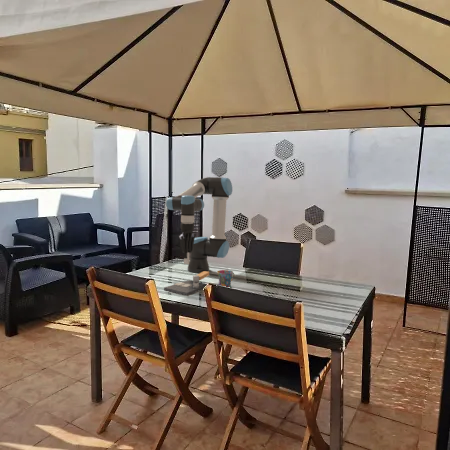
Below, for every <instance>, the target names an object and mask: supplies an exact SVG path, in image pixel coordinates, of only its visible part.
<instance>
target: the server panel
mask: <svg viewBox="0 0 450 450" xmlns="http://www.w3.org/2000/svg"><path fill="white" fill-rule="evenodd" d="M207 284H208V283H205V282H200V281H199V282H193V280H190V279H189V280H185V281H182V282H181V281H179V282H177V283H174V284H171V285H168V286H165V287H164V288H163V290H164V291H166V292H170V293H174V294H178V295H181V296H182V295H184V296H188V295H191V294H194V293H197V292H200V291H203V288H204V287H205V286H206V285H207Z"/></svg>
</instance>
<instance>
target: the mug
mask: <svg viewBox="0 0 450 450" xmlns="http://www.w3.org/2000/svg"><path fill="white" fill-rule="evenodd" d="M216 273H217V276H218V285H222V286H226V287H230V288H232V289H233V287H232V281H233V280H234V278H235V273H234V271H232V270H229V269H220V270H217V271H216Z"/></svg>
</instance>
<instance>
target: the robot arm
mask: <svg viewBox="0 0 450 450" xmlns="http://www.w3.org/2000/svg"><path fill="white" fill-rule="evenodd" d="M232 194H233V183H232V181H231V179H230V178H228V177H219V176H218V177H216V176H215V177H211V176H207V177H204V178H200V179H198V180H197V181H194V182H193V183H192V185H191V186H190V187H189V188H187V189H185V191H183V192H181V193H180V194H178V195H177V196H175V197H173V196H171V197H168V198H167V199H166V203H165V205H166V208H167V210H170V211H180V222H181V223H180V230H181V234H180V235H178V237H177V238H178V240H179V246H180V252H182V253H183V264H184V265H187V271H188V272H190V273H198V274H199V273H201V272H203V271H207V272H210V266H209V262H208V257H210V258H218V259H224V258H225V257H226V256H228V253H229V250H230V241H228V239H227V237H226V235H225V232H226V217H227V214H226V213H227V201H228V200H229V198H230V197H229V196H232ZM203 195H211V198H212V200H213V205H212V206H213V207H212V226H211V235H210V236H209V238H208V236H199V237H198V236H197V237H196V235H197V234H196V233H194V232H193V231H194V229H195V212H201V211H202V210H204V207H205V202H204V200H203V199H202V198H198V196H199V197H200V196H203Z"/></svg>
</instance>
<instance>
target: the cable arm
mask: <svg viewBox="0 0 450 450" xmlns="http://www.w3.org/2000/svg"><path fill="white" fill-rule="evenodd" d="M208 276H210V271H208V272H207V271H203V272H201V273H198V274H196V275H195V274H194V275H193V276H192V281H193V282H200V281H201V280H203V279H206V278H207V277H208Z"/></svg>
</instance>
